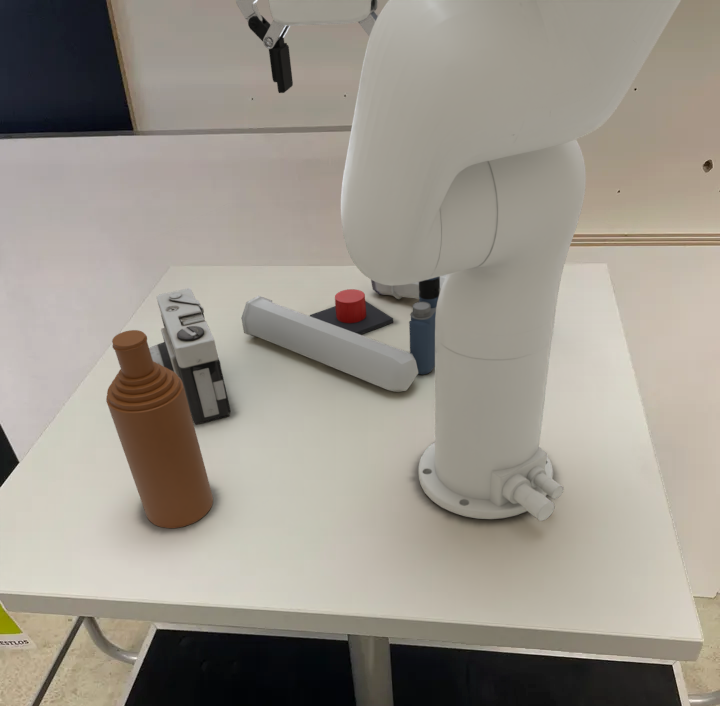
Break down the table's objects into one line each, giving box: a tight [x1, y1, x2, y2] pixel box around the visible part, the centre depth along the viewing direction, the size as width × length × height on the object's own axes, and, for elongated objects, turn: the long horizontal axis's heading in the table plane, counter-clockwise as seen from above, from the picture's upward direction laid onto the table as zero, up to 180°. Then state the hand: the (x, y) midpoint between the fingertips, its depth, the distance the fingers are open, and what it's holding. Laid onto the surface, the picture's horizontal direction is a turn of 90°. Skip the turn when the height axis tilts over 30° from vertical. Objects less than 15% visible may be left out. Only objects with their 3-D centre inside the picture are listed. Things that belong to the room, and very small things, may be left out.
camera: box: [149, 287, 231, 425], centre depth 81 cm, size 14×8×10 cm, turn 20°
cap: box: [334, 288, 366, 323], centre depth 94 cm, size 4×4×3 cm
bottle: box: [105, 329, 214, 529], centre depth 63 cm, size 6×6×18 cm
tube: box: [240, 295, 419, 393], centre depth 86 cm, size 5×5×25 cm
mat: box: [309, 300, 394, 335], centre depth 95 cm, size 8×8×1 cm
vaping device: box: [408, 276, 440, 375], centre depth 82 cm, size 3×5×12 cm, turn 156°
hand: (330, 88), depth 74 cm, fingers open, 9 cm apart
